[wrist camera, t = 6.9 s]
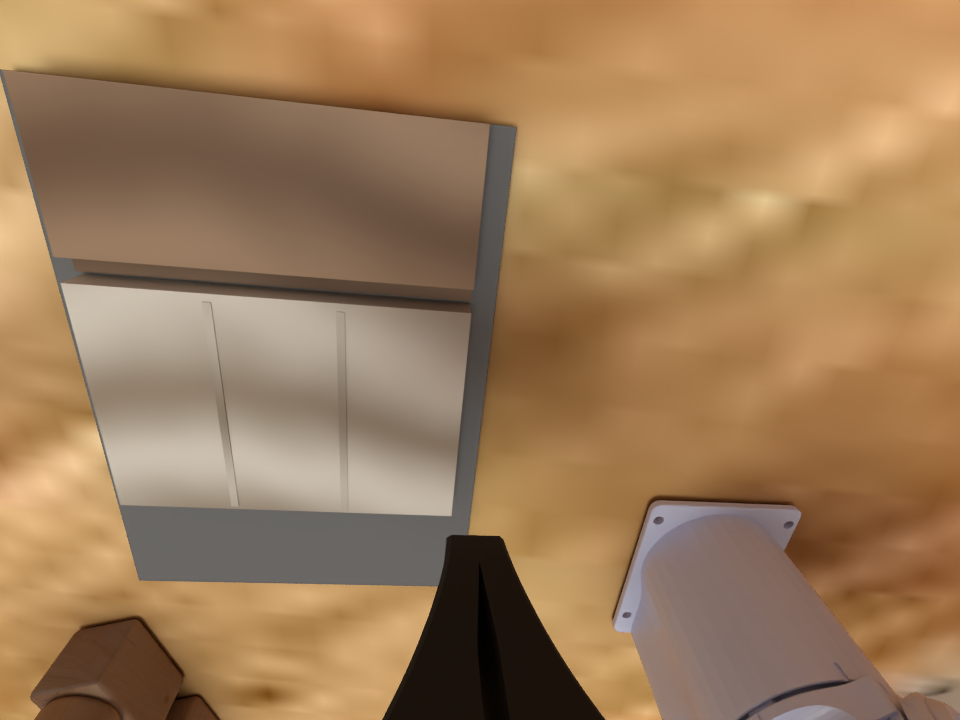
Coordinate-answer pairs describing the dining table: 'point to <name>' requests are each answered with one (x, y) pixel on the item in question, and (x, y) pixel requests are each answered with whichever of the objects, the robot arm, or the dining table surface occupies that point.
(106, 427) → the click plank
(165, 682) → the brown wooden upright frame
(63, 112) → the laid plank
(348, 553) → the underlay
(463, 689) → the robot arm
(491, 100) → the dining table surface
